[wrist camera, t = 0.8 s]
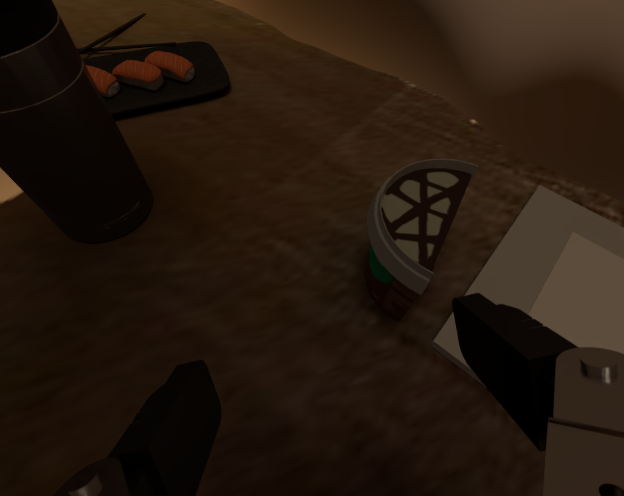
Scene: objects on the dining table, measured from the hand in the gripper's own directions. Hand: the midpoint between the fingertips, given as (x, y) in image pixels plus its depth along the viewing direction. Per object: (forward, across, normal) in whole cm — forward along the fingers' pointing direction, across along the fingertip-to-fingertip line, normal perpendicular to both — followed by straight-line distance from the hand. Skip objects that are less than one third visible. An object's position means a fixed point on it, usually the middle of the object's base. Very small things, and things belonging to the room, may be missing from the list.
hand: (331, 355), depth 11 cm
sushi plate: (+47, +23, -28) cm, 60 cm away
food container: (+22, -6, +5) cm, 23 cm away
